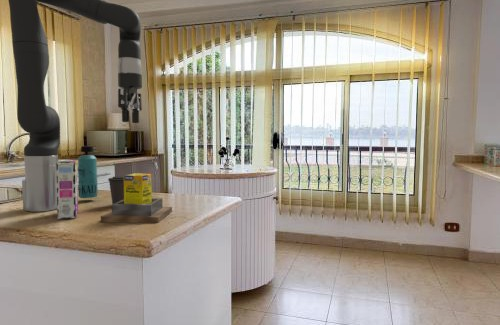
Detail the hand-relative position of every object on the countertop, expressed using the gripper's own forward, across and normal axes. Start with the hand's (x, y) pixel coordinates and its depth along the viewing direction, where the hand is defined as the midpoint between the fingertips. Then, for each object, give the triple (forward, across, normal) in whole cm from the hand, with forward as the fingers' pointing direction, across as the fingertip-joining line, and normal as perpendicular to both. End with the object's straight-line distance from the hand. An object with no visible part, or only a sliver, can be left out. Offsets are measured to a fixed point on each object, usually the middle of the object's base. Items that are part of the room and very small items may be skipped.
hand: (130, 122), depth 116 cm
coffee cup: (+28, 0, -4) cm, 29 cm away
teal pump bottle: (+28, -7, -19) cm, 35 cm away
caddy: (+28, +16, +8) cm, 33 cm away
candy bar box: (+28, +16, -13) cm, 35 cm away
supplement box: (+27, +16, +8) cm, 32 cm away
